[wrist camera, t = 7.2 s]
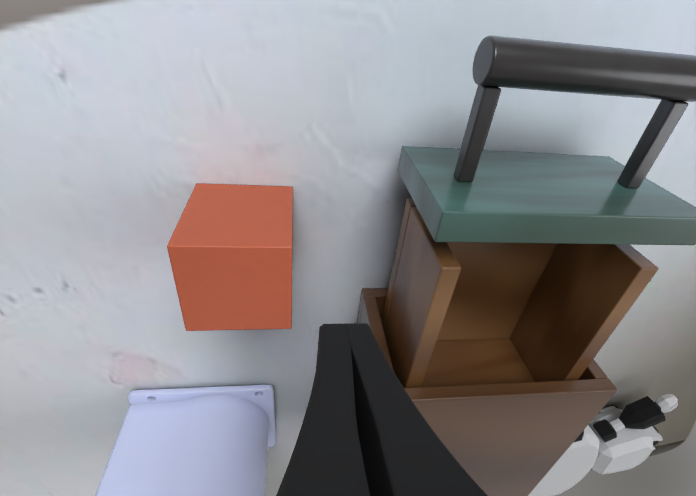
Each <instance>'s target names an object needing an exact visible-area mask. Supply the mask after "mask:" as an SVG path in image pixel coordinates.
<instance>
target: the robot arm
mask: <svg viewBox="0 0 696 496" xmlns="http://www.w3.org/2000/svg"><path fill="white" fill-rule="evenodd" d="M128 401H129V403H130V406H129V408H128V411H127V414H126V416H125V419H124V422H123V424H122V427H121V429H120V432H119V435H118V437H117V440H116V442H115V445H114V448H113V450H112V453H111V455H110V458H109V461H108V463H107V466H106V468H105V471H104V474H103V476H102V479H101V482H100V484H99V487H98V489H97V492H96V495H95V496H265V483H266V466H267V448H270V447H273V446H274V445H275V441H276V439H275V410H274V388H273V387H272V386H271V385H245V386H221V387H198V388H174V389H151V390H134V391H131V392H130V393H129V395H128ZM277 496H488V495H487V494H486V493H485V492H484V491H483V490H482V489H481V488H480V487H479V485H478V484H477V483H476V482H475V481H474V480H473V479H472V478H471V477H470V475H469V474H468V473H467V472H466V471H465V470H464V468H463V467H462V466H461V465H460V464H459V462H458V461H457V460H456V459H455V458H454V456H453V455H452V454H451V453H450V451H449V450H448V449H447V448H446V446H445V445H444V444H443V443H442V441H441V440H440V439H439V438H438V436H437V435H436V434H435V432H434V431H433V430H432V428H431V427H430V426H429V424H428V423H427V421H426V420H425V419H424V417H423V416H422V414H421V413H420V411H419V410H418V409H417V407H416V406H415V404H414V403H413V401H412V400H411V398H410V397H409V395H408V394H407V392H406V391H405V389H404V387H403V386H402V384H401V383H400V381H399V379H398V378H397V376H396V375H395V373H394V371H393V370H392V368H391V366H390V364H389V363H388V361H387V359H386V357H385V356H384V354H383V352H382V350H381V348H380V346H379V344H378V342H377V340H376V338H375V336H374V334H373V332H372V330H371V328H370V326H369V325H368V324H367V323H357V324H323V325H322V326H320V330H319V342H318V354H317V366H316V374H315V379H314V383H313V388H312V392H311V396H310V400H309V403H308V407H307V410H306V413H305V417H304V420H303V424H302V427H301V430H300V433H299V436H298V439H297V442H296V445H295V448H294V451H293V454H292V456H291V459H290V462H289V465H288V467H287V470H286V473H285V475H284V478H283V480H282V483H281V485H280V488H279V490H278V493H277Z"/></svg>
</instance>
